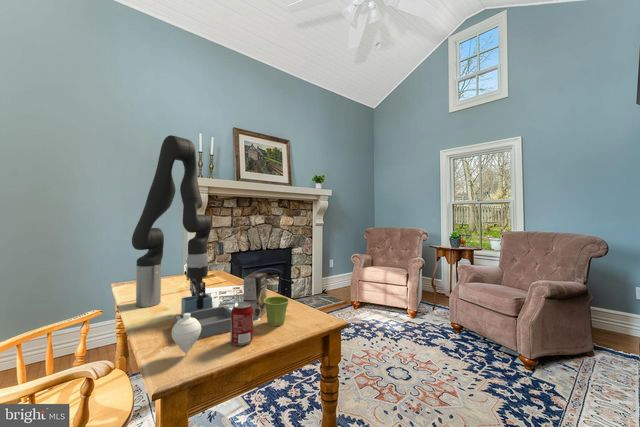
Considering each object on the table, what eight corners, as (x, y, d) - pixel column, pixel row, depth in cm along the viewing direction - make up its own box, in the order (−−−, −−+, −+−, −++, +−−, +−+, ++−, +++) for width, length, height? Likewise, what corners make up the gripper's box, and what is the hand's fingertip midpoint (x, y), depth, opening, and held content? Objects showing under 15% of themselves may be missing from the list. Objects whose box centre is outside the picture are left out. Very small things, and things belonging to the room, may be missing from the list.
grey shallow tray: (174, 326, 99) (174, 314, 99) (225, 315, 110) (225, 305, 110) (183, 342, 87) (183, 329, 87) (239, 328, 98) (239, 317, 98)
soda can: (253, 345, 86) (253, 307, 86) (230, 348, 84) (230, 308, 84) (252, 336, 92) (252, 300, 92) (230, 338, 90) (231, 301, 90)
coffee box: (257, 320, 106) (258, 277, 106) (242, 318, 107) (243, 276, 107) (267, 311, 115) (267, 272, 115) (252, 310, 116) (253, 271, 116)
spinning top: (195, 362, 76) (195, 318, 76) (166, 363, 75) (166, 319, 75) (204, 348, 83) (205, 308, 83) (178, 349, 83) (178, 309, 83)
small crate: (181, 315, 109) (181, 297, 109) (207, 310, 115) (207, 293, 115) (184, 320, 105) (184, 301, 105) (211, 314, 111) (212, 297, 111)
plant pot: (273, 316, 110) (273, 294, 110) (293, 321, 106) (293, 298, 105) (257, 325, 101) (258, 301, 101) (279, 330, 97) (279, 305, 97)
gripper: (183, 263, 113) (183, 303, 113) (191, 268, 102) (191, 313, 102) (202, 261, 118) (202, 299, 118) (212, 266, 106) (212, 308, 106)
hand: (197, 305), depth 110 cm, fingers open, 8 cm apart
